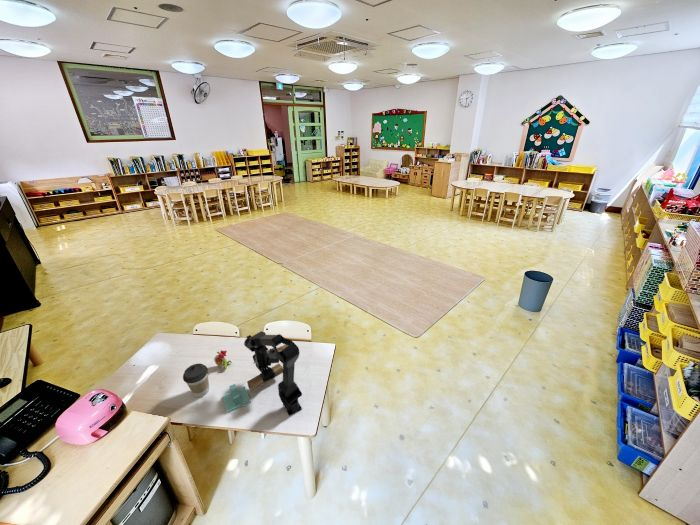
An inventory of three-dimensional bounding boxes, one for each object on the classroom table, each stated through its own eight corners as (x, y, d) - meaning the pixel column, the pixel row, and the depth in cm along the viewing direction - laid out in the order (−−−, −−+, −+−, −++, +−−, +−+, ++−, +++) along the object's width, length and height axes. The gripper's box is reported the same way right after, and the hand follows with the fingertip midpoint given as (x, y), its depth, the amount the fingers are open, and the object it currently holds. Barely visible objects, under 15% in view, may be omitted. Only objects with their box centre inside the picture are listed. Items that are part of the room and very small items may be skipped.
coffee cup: (198, 381, 158) (191, 360, 151) (218, 384, 156) (211, 362, 150) (184, 399, 148) (176, 377, 141) (205, 402, 146) (197, 380, 139)
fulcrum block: (250, 402, 145) (248, 393, 143) (227, 413, 140) (224, 404, 138) (244, 387, 154) (242, 378, 151) (222, 396, 149) (220, 388, 146)
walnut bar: (283, 372, 157) (282, 366, 155) (251, 391, 146) (250, 385, 145) (280, 368, 159) (279, 363, 158) (248, 387, 149) (247, 381, 147)
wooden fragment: (293, 342, 185) (293, 340, 184) (299, 353, 176) (298, 351, 175) (251, 355, 175) (251, 354, 174) (255, 368, 166) (254, 367, 165)
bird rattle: (217, 373, 166) (230, 369, 163) (205, 358, 162) (218, 354, 159) (223, 365, 171) (235, 361, 169) (212, 350, 167) (224, 347, 165)
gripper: (283, 359, 142) (287, 383, 149) (271, 338, 156) (275, 360, 163) (260, 369, 137) (266, 393, 144) (250, 346, 151) (255, 368, 158)
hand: (266, 377), depth 152 cm, fingers closed on walnut bar, 4 cm apart
